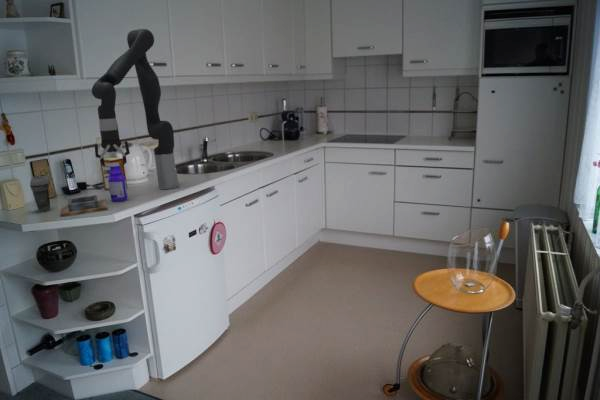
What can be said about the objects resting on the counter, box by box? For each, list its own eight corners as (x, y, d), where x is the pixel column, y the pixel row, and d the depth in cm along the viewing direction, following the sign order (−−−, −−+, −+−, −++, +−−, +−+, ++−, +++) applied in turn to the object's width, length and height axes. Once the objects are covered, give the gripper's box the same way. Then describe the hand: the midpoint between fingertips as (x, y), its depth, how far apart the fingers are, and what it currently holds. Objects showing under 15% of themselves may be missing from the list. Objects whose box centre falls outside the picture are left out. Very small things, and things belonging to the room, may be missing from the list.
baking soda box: (104, 190, 244) (99, 159, 240) (115, 187, 249) (110, 156, 245) (116, 191, 239) (111, 159, 235) (127, 188, 244) (122, 157, 240)
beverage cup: (44, 208, 213) (35, 163, 208) (57, 208, 211) (49, 163, 206) (31, 212, 207) (21, 167, 202) (44, 213, 204) (35, 166, 199)
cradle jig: (105, 202, 217) (104, 193, 216) (107, 209, 203) (106, 200, 202) (62, 208, 211) (60, 199, 210) (60, 216, 196) (58, 207, 195)
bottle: (129, 198, 222) (124, 161, 217) (126, 201, 216) (120, 163, 212) (114, 199, 222) (108, 162, 217) (109, 202, 216) (103, 164, 212)
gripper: (125, 127, 217) (130, 162, 221) (91, 129, 212) (97, 166, 215) (126, 128, 210) (131, 164, 214) (91, 131, 205) (97, 168, 209)
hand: (114, 165), depth 215 cm, fingers open, 8 cm apart
